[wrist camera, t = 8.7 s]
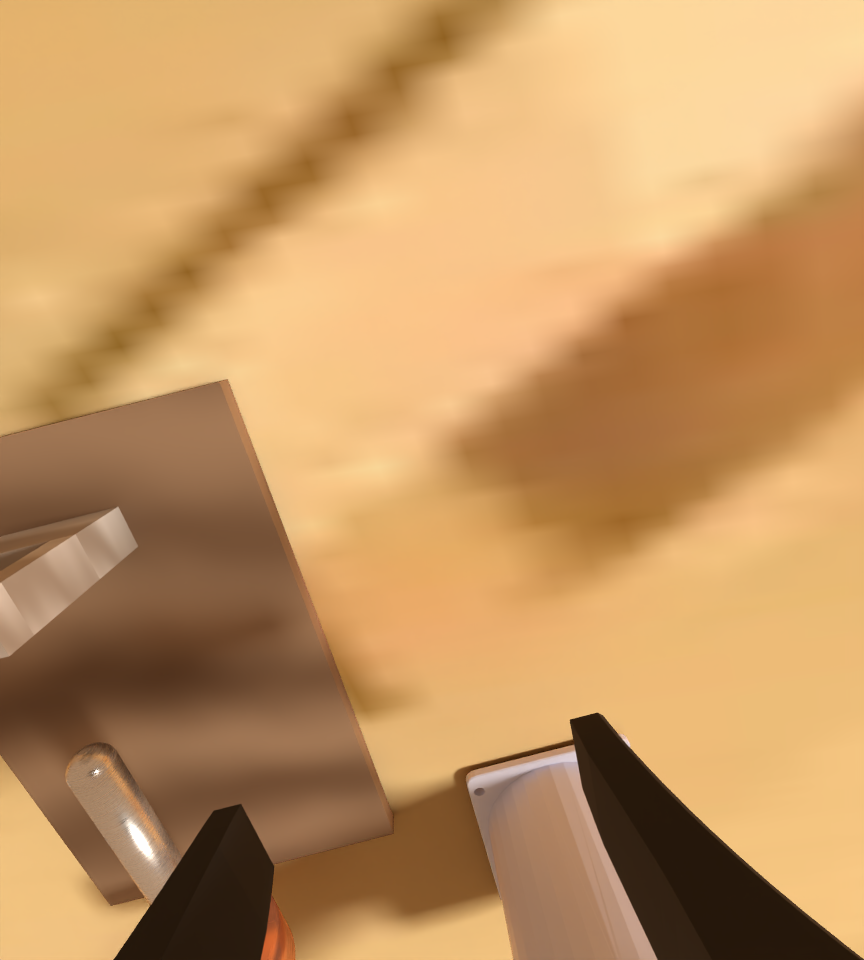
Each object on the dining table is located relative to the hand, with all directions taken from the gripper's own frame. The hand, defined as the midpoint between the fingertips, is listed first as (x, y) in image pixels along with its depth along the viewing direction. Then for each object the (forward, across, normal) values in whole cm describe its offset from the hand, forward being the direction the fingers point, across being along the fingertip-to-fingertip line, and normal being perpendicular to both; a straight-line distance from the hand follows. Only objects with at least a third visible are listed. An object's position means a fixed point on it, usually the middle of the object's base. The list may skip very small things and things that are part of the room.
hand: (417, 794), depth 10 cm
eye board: (+9, +11, +2) cm, 15 cm away
